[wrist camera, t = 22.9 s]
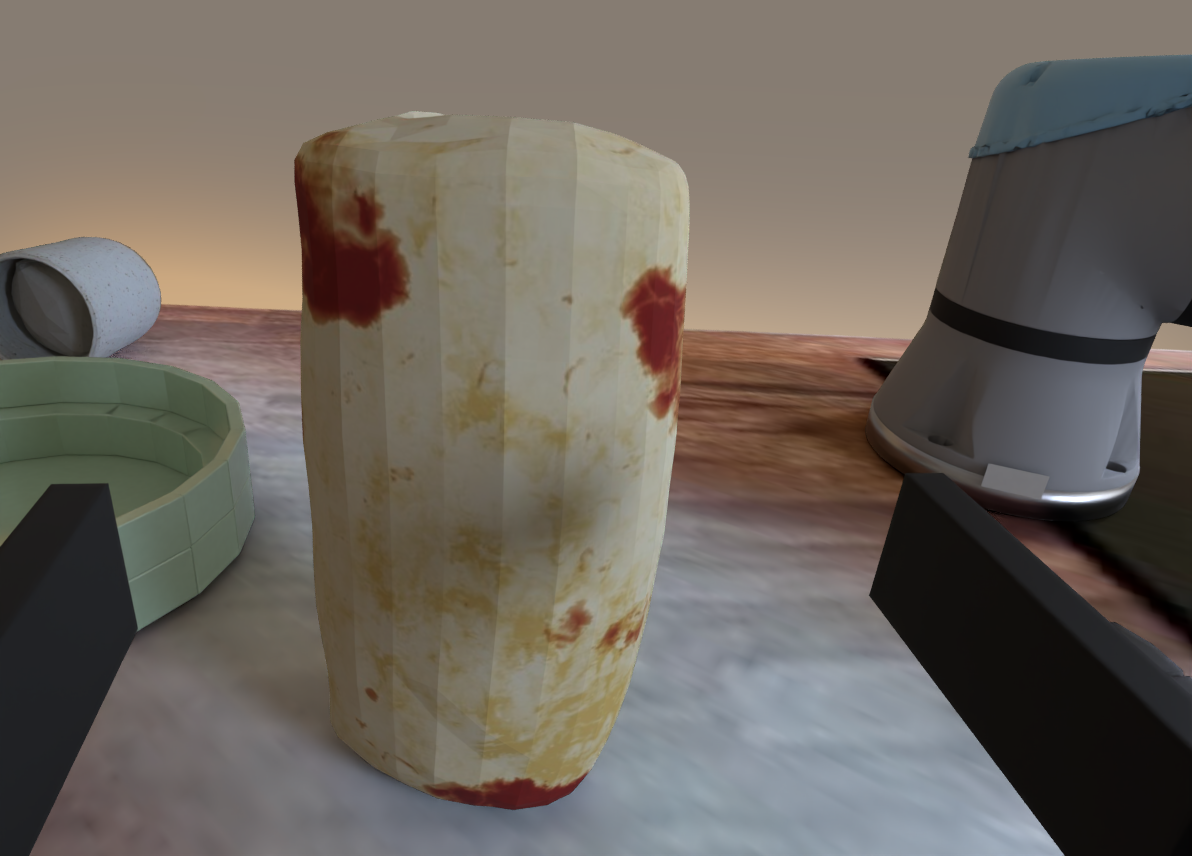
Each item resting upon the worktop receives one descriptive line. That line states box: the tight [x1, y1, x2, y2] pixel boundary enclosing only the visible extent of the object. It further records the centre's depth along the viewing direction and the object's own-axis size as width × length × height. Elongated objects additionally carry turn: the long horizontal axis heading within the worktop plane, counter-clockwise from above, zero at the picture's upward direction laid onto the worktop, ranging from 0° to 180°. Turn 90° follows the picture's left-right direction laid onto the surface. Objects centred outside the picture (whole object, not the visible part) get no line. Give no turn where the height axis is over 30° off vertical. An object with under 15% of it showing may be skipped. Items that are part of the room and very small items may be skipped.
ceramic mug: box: [0, 237, 161, 360], centre depth 50 cm, size 11×8×8 cm
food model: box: [294, 111, 690, 810], centre depth 22 cm, size 10×7×20 cm
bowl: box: [0, 356, 255, 631], centre depth 33 cm, size 18×18×5 cm
